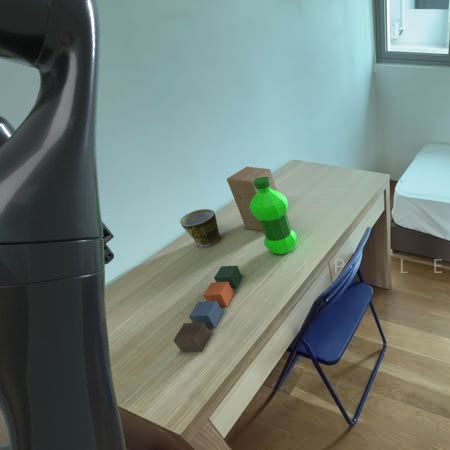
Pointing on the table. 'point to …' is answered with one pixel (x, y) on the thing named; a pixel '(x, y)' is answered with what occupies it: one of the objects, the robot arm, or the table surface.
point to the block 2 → (219, 293)
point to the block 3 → (206, 313)
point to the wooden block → (248, 192)
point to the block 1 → (229, 275)
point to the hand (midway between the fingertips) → (85, 262)
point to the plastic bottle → (272, 217)
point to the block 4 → (192, 337)
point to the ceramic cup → (201, 226)
